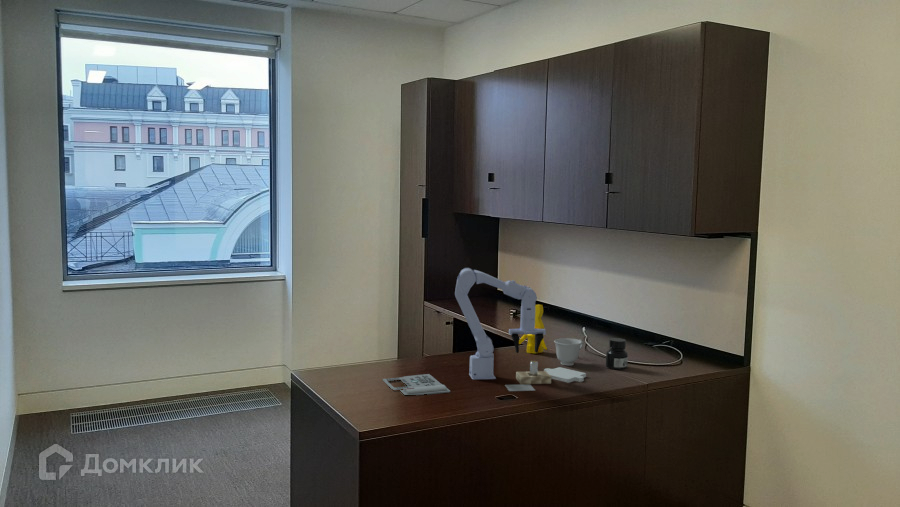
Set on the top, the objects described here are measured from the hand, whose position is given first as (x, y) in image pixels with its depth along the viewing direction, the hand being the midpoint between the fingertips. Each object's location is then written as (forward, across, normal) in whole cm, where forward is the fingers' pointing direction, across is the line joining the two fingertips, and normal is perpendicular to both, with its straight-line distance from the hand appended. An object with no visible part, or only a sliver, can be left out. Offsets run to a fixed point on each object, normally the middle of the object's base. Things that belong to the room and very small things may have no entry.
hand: (526, 352), depth 281 cm
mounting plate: (+11, +16, +1) cm, 19 cm away
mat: (+10, -6, -14) cm, 19 cm away
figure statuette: (+10, +14, +41) cm, 45 cm away
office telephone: (+11, -45, -9) cm, 47 cm away
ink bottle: (+10, +42, +13) cm, 45 cm away
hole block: (+10, +2, -6) cm, 12 cm away
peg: (+10, +2, -6) cm, 12 cm away
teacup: (+10, +24, +21) cm, 34 cm away
